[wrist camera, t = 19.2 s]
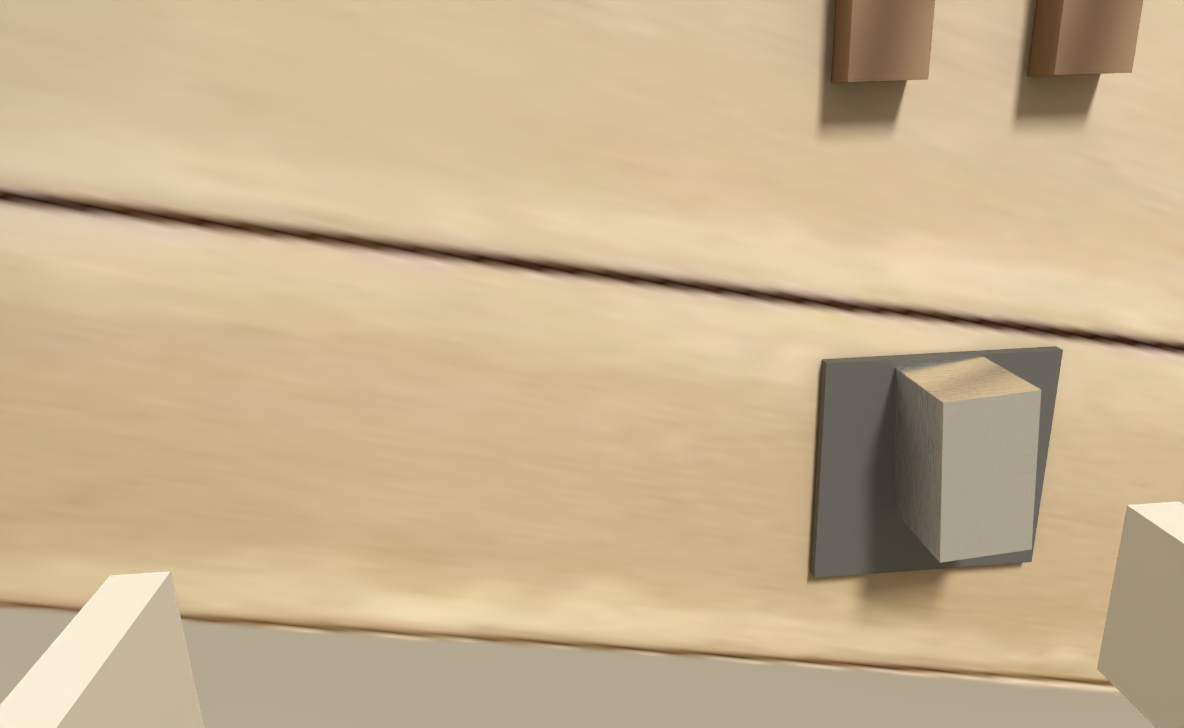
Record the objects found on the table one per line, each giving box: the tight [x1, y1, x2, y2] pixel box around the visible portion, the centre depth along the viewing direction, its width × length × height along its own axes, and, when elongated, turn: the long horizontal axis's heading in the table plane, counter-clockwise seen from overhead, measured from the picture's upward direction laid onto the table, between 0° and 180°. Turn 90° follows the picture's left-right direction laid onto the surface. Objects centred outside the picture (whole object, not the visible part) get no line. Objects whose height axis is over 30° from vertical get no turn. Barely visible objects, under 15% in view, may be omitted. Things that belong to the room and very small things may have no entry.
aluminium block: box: [895, 356, 1041, 563], centre depth 40 cm, size 4×8×5 cm, turn 6°
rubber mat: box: [811, 347, 1063, 578], centre depth 44 cm, size 12×12×1 cm
